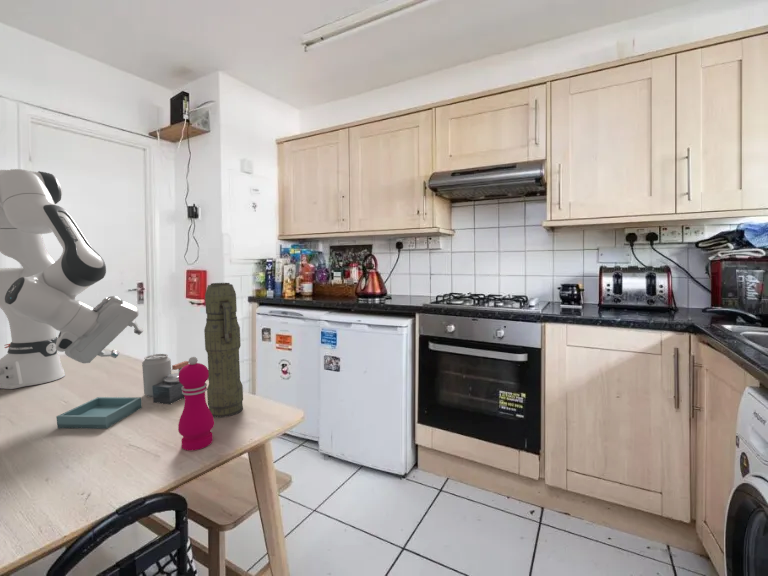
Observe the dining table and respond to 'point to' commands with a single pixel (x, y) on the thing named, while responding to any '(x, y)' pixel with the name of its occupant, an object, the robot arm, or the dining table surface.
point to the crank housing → (169, 387)
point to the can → (155, 371)
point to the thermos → (223, 351)
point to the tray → (99, 412)
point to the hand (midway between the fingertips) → (129, 343)
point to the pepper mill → (195, 407)
